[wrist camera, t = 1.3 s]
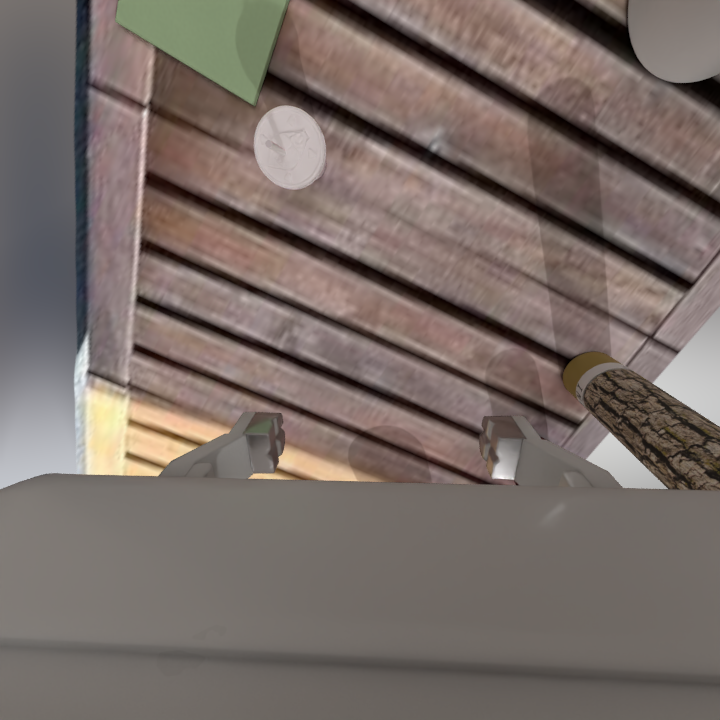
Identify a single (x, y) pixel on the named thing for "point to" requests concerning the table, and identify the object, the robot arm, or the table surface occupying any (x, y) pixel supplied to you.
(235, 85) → the pad
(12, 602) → the robot arm
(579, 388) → the paper tube
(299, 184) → the smoothie
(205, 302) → the table surface
